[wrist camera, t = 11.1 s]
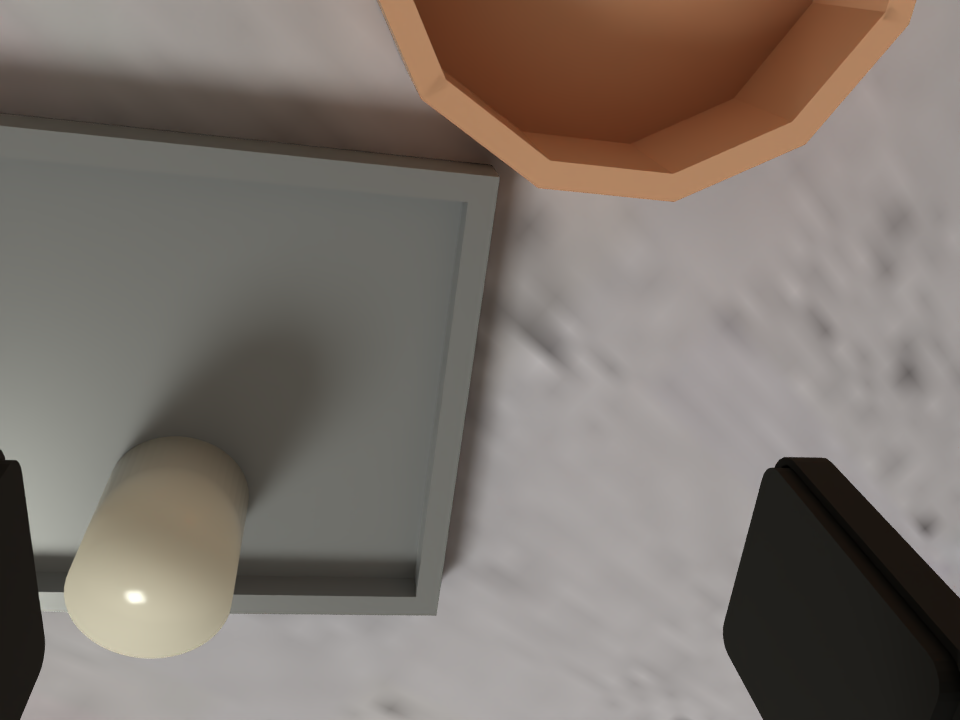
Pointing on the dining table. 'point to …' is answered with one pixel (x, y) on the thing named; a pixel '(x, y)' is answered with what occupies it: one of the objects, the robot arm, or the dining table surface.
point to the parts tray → (245, 344)
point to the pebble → (160, 550)
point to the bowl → (639, 81)
